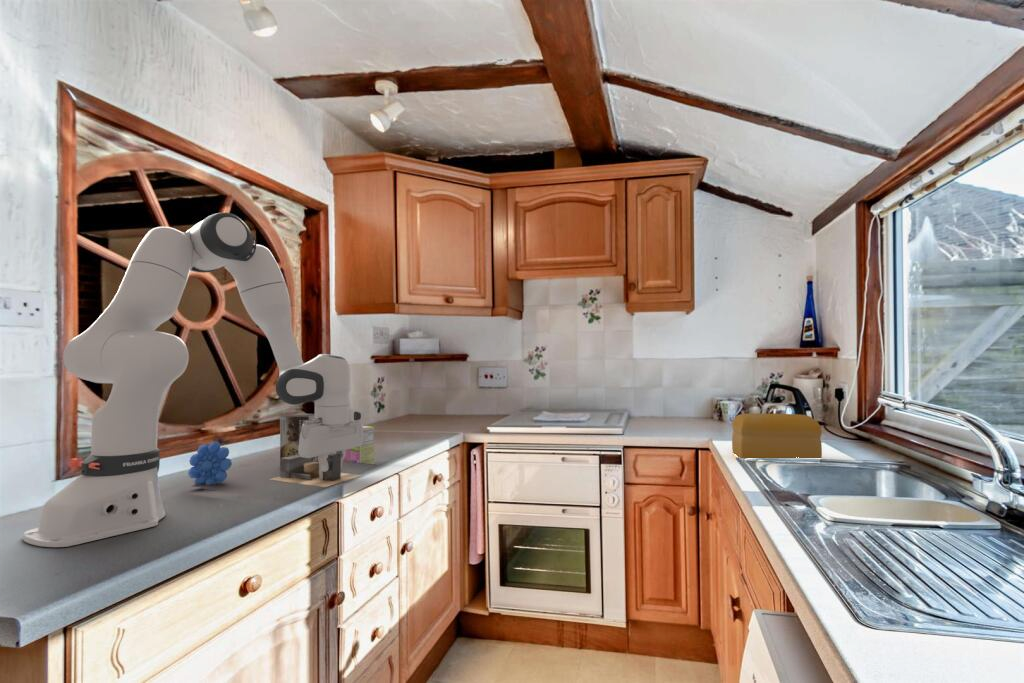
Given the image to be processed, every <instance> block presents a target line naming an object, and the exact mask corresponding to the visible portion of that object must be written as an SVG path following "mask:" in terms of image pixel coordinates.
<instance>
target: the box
mask: <svg viewBox="0 0 1024 683" xmlns="http://www.w3.org/2000/svg"><path fill="white" fill-rule="evenodd" d="M343 462H348V463H349V462H350V463H356V464H367V465H368V464H369V465H375V426H368V425H363V441H362V444H361V446H358V447H354V448H350V449H346V454H345V457H344V459H343Z"/></svg>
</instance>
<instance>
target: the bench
mask: <svg viewBox="0 0 1024 683" xmlns="http://www.w3.org/2000/svg"><path fill="white" fill-rule="evenodd" d="M308 462H312V458H303V457H301V456H300V455H299V454H298V455H293V456H289V457H284V458H281V461H280V460H279V466H280V470H279V471H280V472H279V475H280V476H277V477H272V478H268V480H269V481H275V482H277V481H278V482H283V483H284V482H285V483H291V484H298V485H306V486H312V487H313V486H314V487H321V488H327V487H330V486H334V485H336V484H340V483H343V482H345V481H350V480H352V479H355V478H359V477H362V476H363V475H362V474H354V473H348V472H347V473H346V472H341V479H338V480H335V481H328V480H319V477H317V478H311V475H309V474H304V463H308Z"/></svg>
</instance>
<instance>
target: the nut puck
mask: <svg viewBox="0 0 1024 683" xmlns="http://www.w3.org/2000/svg"><path fill="white" fill-rule="evenodd" d="M304 474H309V475H311V478H317V477H319V461H318V462H308V463H304Z"/></svg>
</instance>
